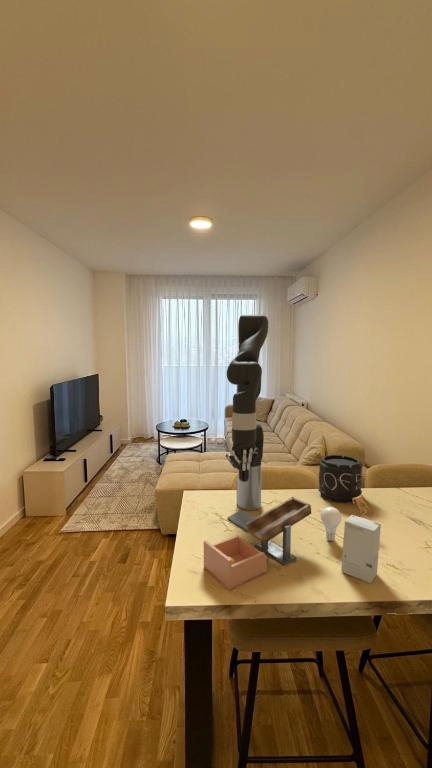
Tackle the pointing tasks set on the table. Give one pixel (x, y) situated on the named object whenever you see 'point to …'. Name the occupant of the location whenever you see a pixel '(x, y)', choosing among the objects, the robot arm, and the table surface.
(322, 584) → the table surface
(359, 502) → the figurine
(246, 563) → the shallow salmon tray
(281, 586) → the table surface
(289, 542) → the lever stand
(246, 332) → the robot arm
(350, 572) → the skincare box
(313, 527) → the table surface
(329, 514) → the lightbulb
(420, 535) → the table surface
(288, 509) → the lever trough
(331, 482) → the chalkboard pot
